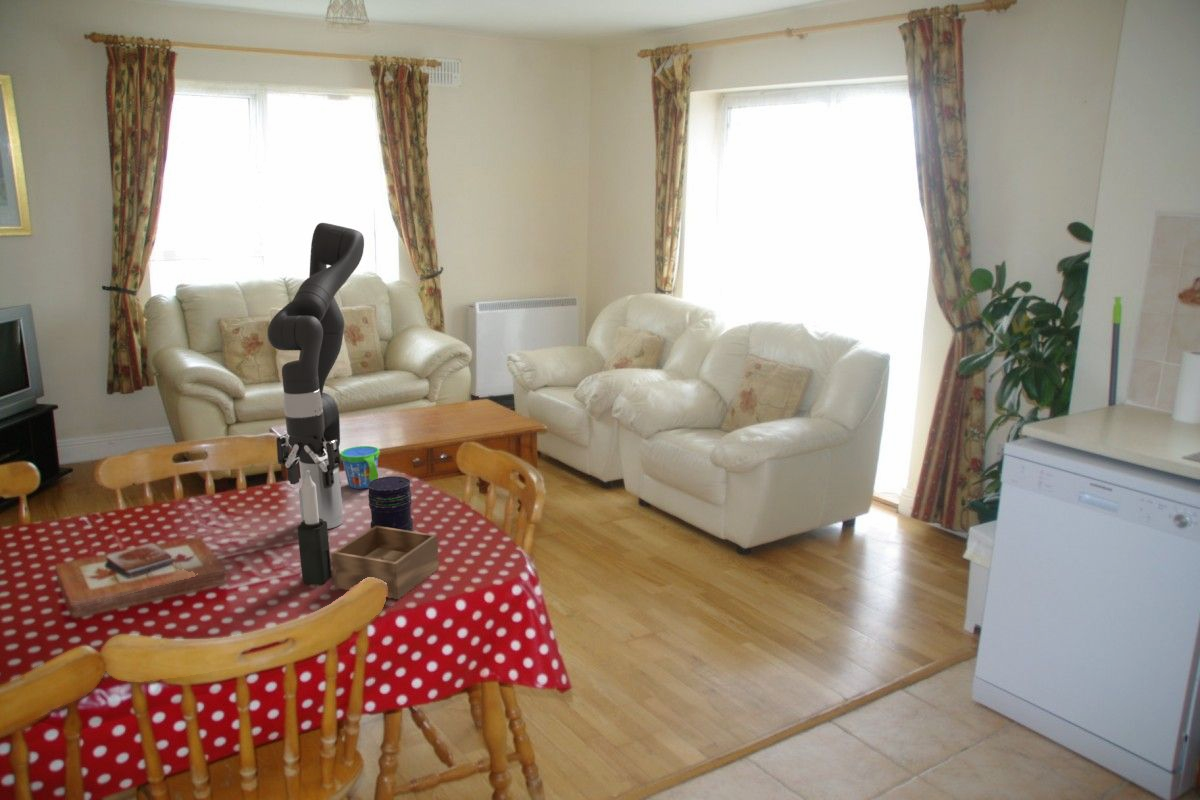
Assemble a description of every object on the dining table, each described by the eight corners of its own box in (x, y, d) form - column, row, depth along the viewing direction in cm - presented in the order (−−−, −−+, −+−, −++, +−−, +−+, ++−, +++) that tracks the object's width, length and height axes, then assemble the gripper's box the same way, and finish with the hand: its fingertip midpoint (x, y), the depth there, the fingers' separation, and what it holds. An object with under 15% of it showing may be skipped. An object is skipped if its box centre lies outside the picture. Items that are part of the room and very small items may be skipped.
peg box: (334, 587, 191) (331, 552, 189) (378, 558, 206) (375, 525, 204) (398, 599, 186) (396, 564, 184) (438, 568, 200) (437, 535, 198)
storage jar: (377, 553, 208) (373, 493, 204) (367, 539, 217) (362, 480, 213) (419, 545, 213) (415, 485, 209) (407, 531, 221) (404, 473, 217)
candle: (322, 585, 192) (312, 475, 186) (300, 583, 193) (289, 473, 187) (333, 575, 197) (324, 467, 191) (312, 573, 198) (302, 465, 192)
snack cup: (335, 481, 257) (332, 447, 254) (370, 474, 263) (368, 441, 260) (353, 497, 244) (350, 461, 242) (390, 489, 250) (388, 454, 248)
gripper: (263, 413, 185) (272, 487, 189) (321, 418, 180) (328, 494, 184) (287, 404, 192) (295, 476, 196) (343, 409, 187) (350, 483, 191)
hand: (311, 485), depth 190 cm, fingers open, 8 cm apart
